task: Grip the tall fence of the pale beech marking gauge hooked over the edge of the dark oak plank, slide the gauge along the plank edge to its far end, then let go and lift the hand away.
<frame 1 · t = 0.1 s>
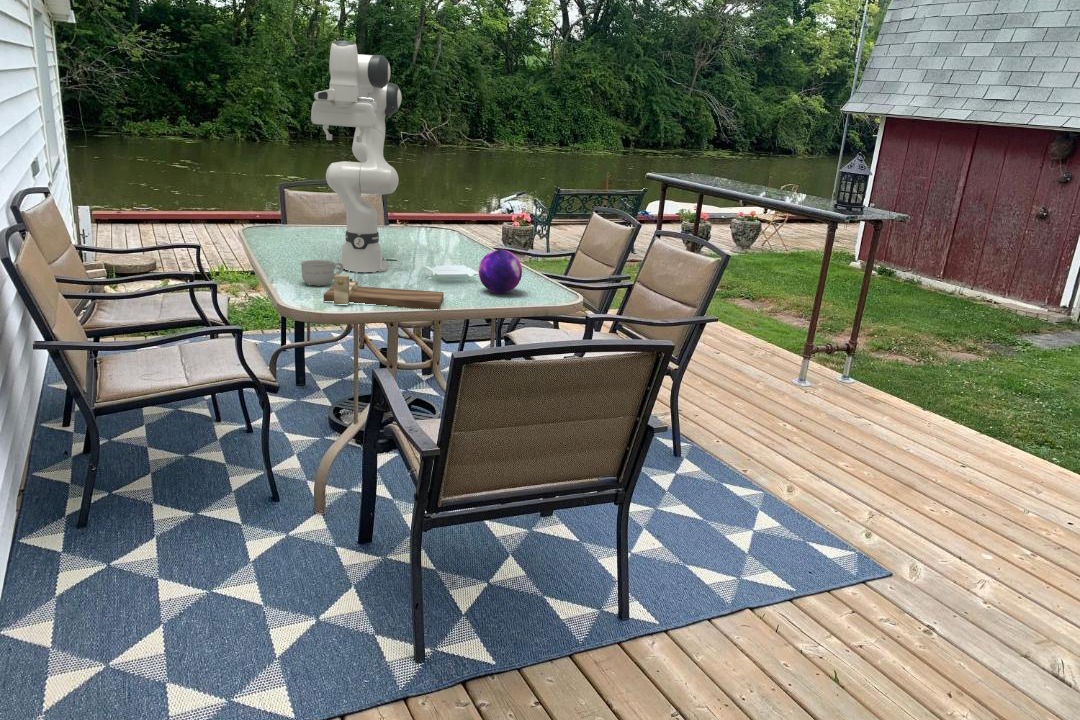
hand: (344, 141, 257), 48 cm above the table, tool pointing down, fingers open, 8 cm apart
teacup: (322, 285, 274), on the table
oak plank: (385, 300, 259), on the table
decorative orb: (499, 293, 281), on the table
marking gauge: (343, 295, 251), point 2 cm above the table, touching oak plank
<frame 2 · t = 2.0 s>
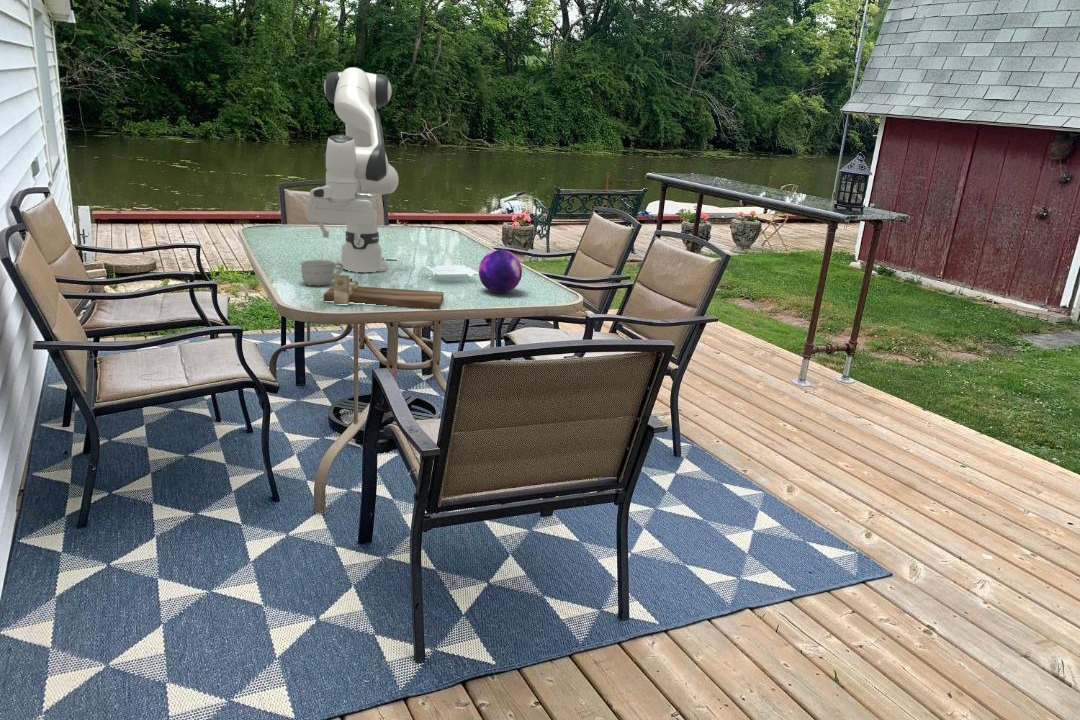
hand: (341, 238, 244), 21 cm above the table, tool pointing down, fingers open, 8 cm apart
nothing on the table moved.
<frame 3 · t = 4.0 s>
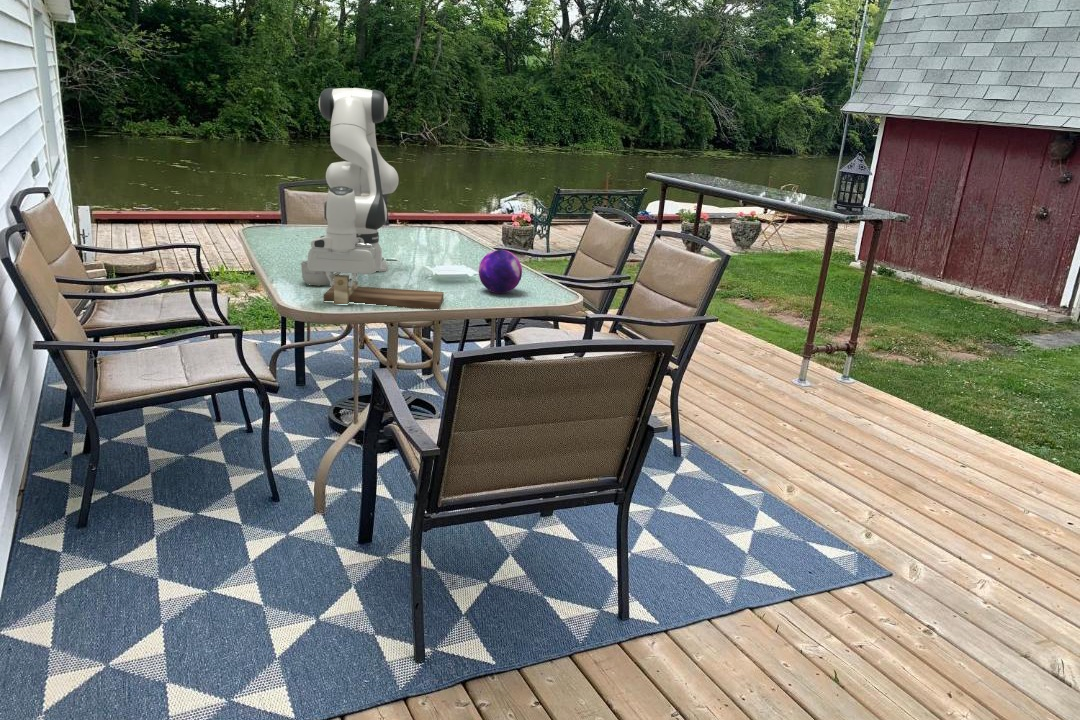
hand: (341, 286, 248), 6 cm above the table, tool pointing down, fingers closed on marking gauge, 4 cm apart
marking gauge: (343, 295, 251), point 2 cm above the table, touching gripper, oak plank
everything else where it was.
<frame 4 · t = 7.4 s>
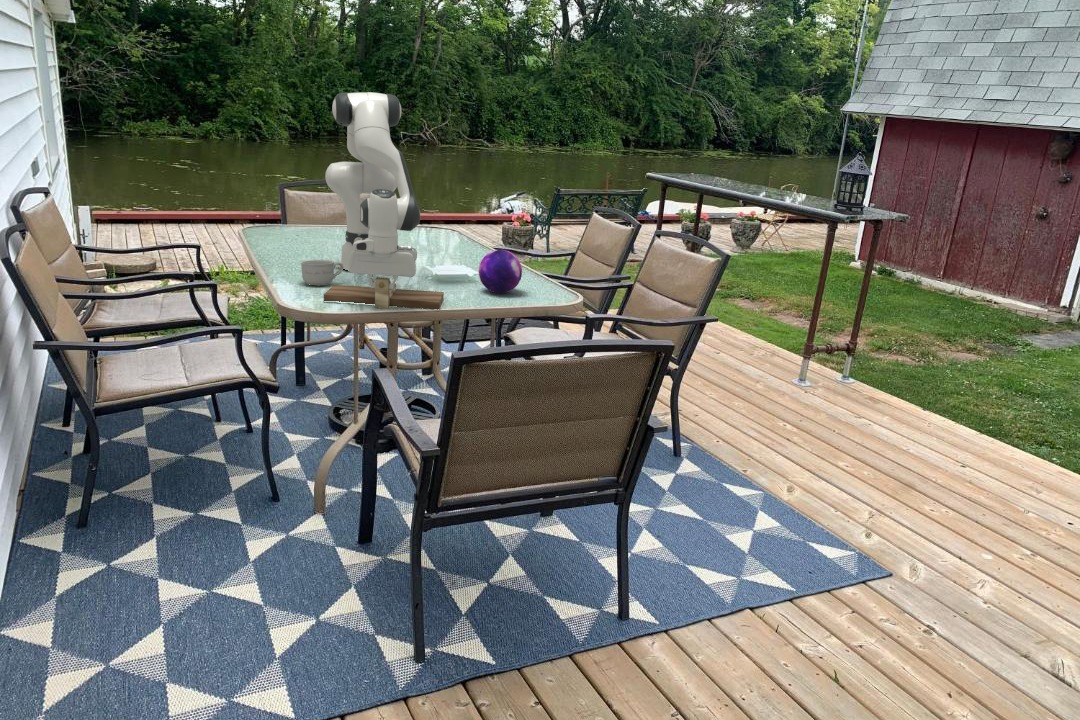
hand: (382, 289, 249), 6 cm above the table, tool pointing down, fingers closed on marking gauge, 4 cm apart
marking gauge: (383, 298, 252), point 3 cm above the table, touching gripper
everything else where it was.
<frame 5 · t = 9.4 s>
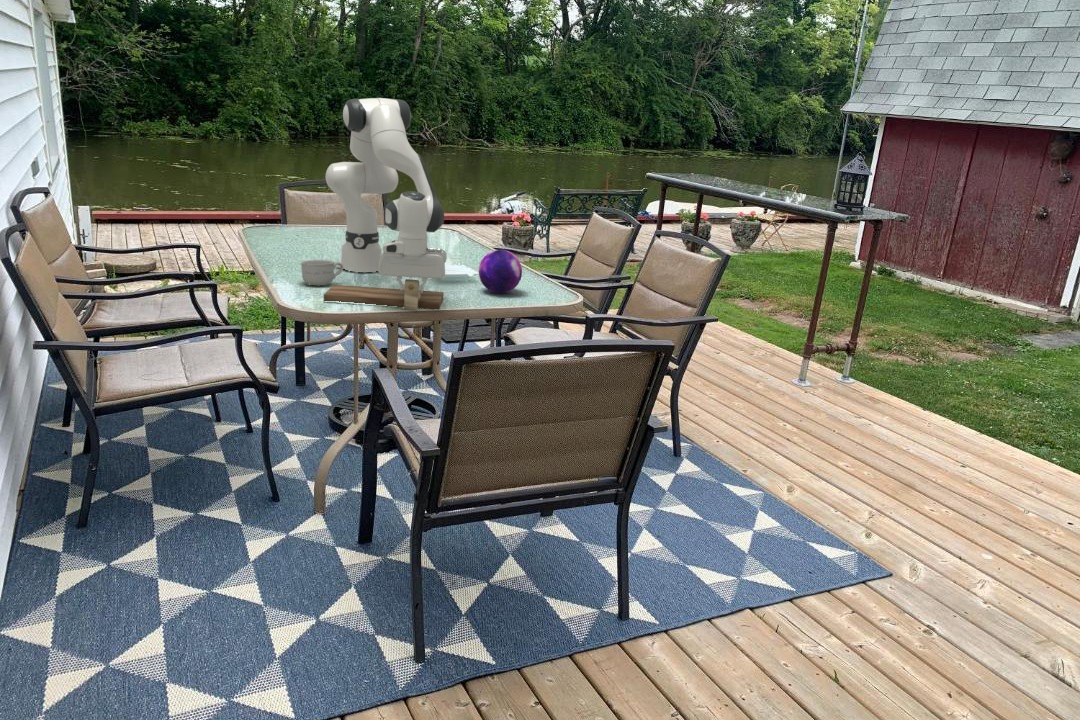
hand: (411, 291, 249), 6 cm above the table, tool pointing down, fingers closed on marking gauge, 4 cm apart
marking gauge: (412, 300, 252), point 3 cm above the table, touching gripper
everything else where it was.
when the fingers open (6 cm above the table, at t = 10.9 s): marking gauge stays where it is, resting on oak plank.
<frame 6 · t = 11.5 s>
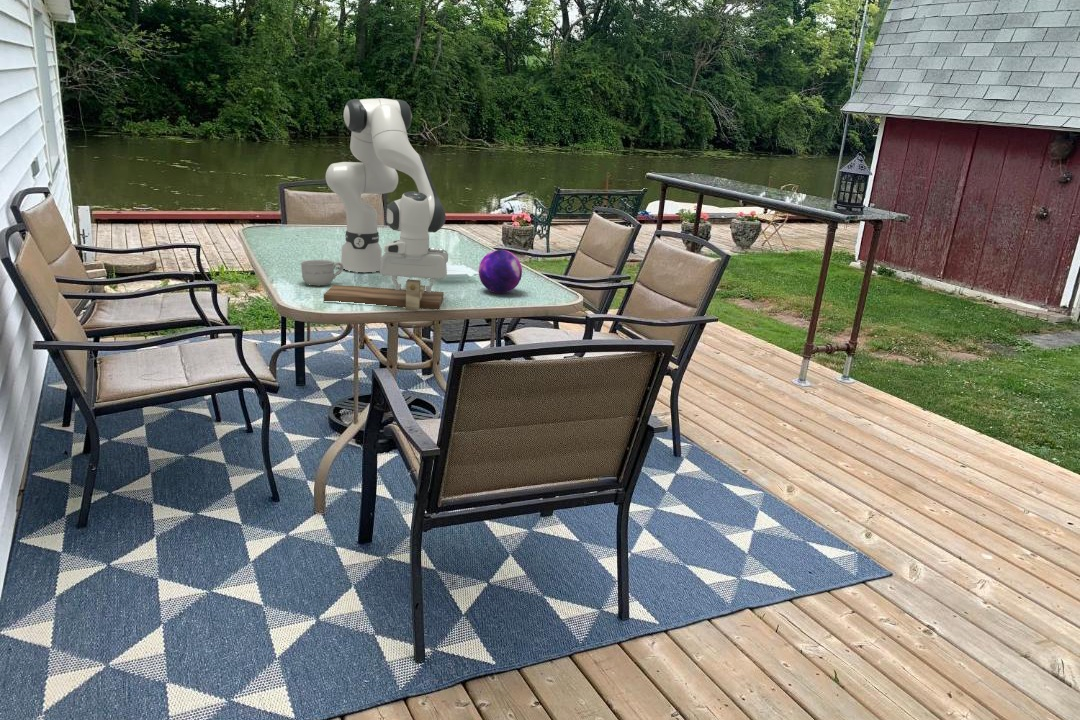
hand: (413, 291, 249), 6 cm above the table, tool pointing down, fingers open, 8 cm apart
marking gauge: (413, 300, 252), point 2 cm above the table, touching oak plank
everything else where it was.
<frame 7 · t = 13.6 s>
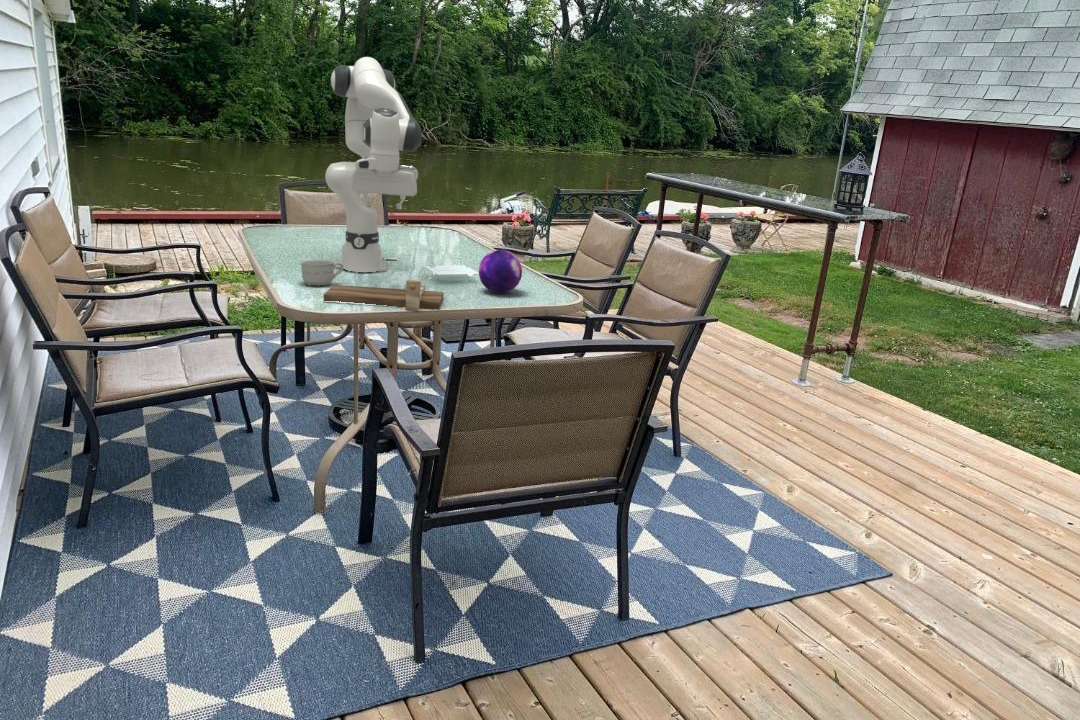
hand: (383, 208, 255), 29 cm above the table, tool pointing down, fingers open, 8 cm apart
nothing on the table moved.
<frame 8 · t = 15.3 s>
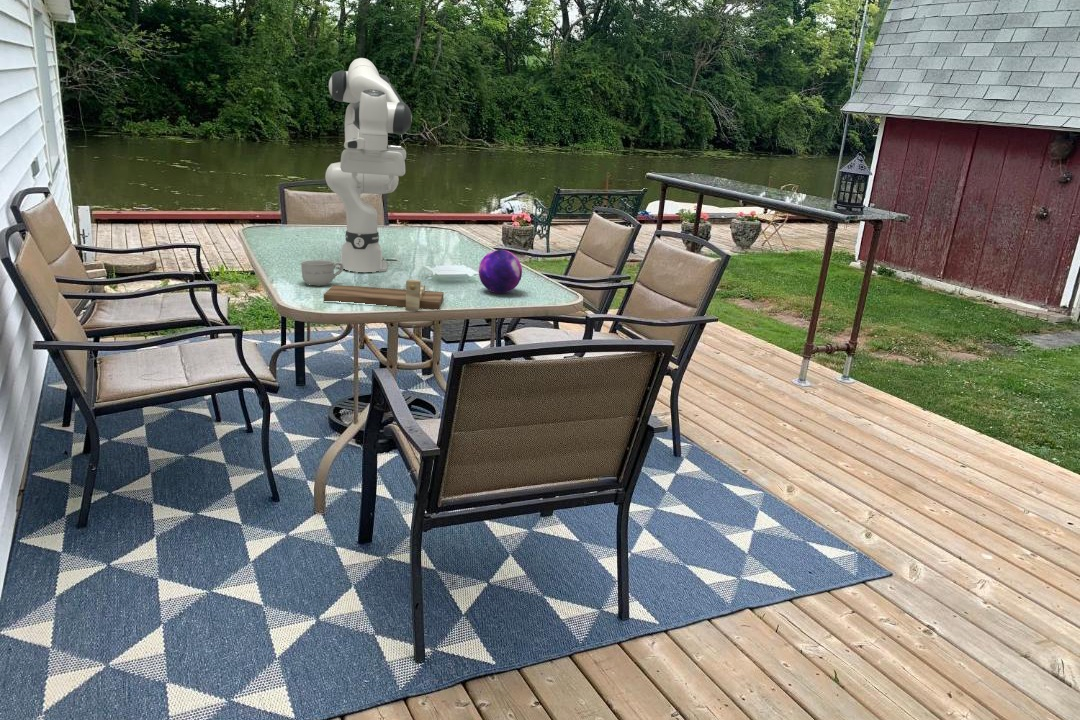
hand: (373, 188, 258), 34 cm above the table, tool pointing down, fingers open, 8 cm apart
nothing on the table moved.
at the end: marking gauge inside the target area (1.0 cm from its centre), point 2.5 cm above the table; marking gauge tilted 0°; the gripper is holding nothing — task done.
